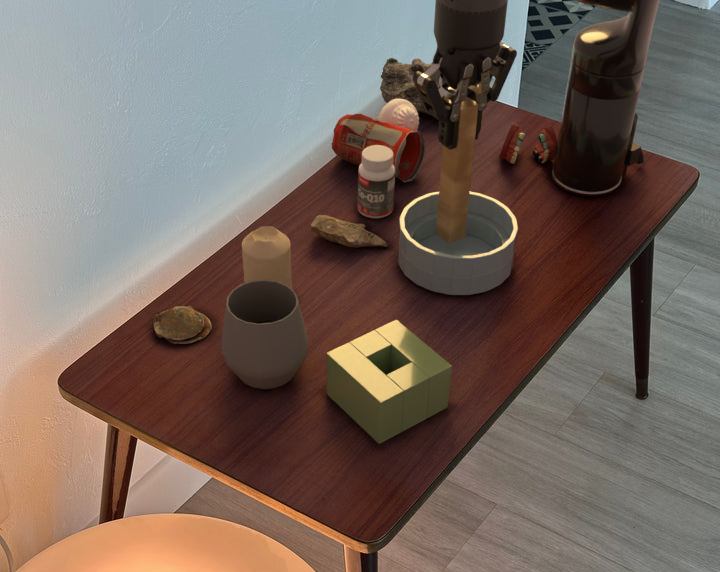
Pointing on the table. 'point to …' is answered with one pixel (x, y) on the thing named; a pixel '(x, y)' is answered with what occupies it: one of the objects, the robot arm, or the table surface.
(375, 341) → the stand
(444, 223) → the stick
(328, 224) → the artifact
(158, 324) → the decorative disc
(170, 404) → the table surface
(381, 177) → the pill bottle
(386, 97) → the rock
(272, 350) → the cup
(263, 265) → the candle
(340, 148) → the beverage can
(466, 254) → the bowl
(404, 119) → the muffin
